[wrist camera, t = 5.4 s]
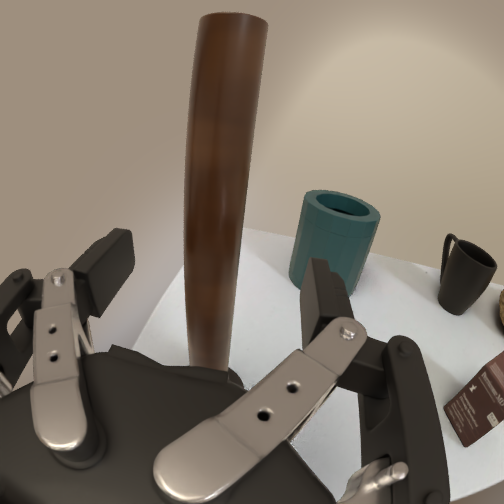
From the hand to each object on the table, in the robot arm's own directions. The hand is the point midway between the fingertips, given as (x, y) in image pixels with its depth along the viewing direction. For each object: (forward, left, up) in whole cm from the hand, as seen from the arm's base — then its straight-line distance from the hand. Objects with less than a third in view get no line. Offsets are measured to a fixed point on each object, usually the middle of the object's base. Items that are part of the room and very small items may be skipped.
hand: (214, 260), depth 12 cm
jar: (+6, +23, -15) cm, 28 cm away
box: (+26, +4, -15) cm, 30 cm away
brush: (0, -1, -15) cm, 15 cm away
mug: (+28, +27, -15) cm, 42 cm away
